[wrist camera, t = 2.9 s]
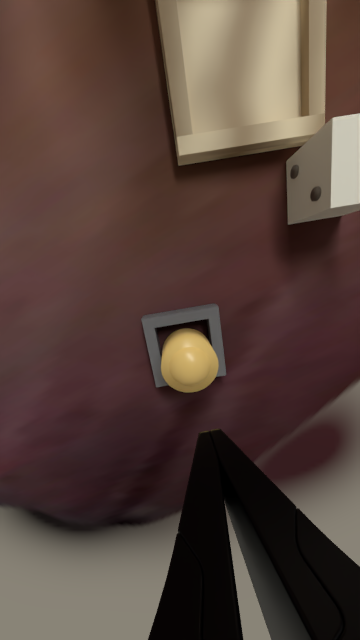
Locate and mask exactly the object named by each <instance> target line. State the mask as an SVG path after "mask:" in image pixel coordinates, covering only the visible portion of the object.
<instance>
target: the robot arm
mask: <svg viewBox="0 0 360 640" xmlns="http://www.w3.org/2000/svg"><path fill="white" fill-rule="evenodd" d="M224 501H225V504H226V507H227V510H228V513H229V516H230V519H231V522H232V525H233V528H234V531H235V534H236V537H237V540H238V543H239V546H240V548H241V552H242V554H243V557H244V560H245V563H246V566H247V569H248V572H249V575H250V578H251V581H252V584H253V587H254V589H255V593H256V596H257V598H258V601H259V604H260V607H261V610H262V613H263V616H264V619H265V622H266V625H267V628H268V631H269V634H270V637H271V640H360V567H359V566H358V565H357V564H356V563H355V562H354V561H353V560H352V559H350V558H349V557H348V556H347V555H346V554H345V553H344V552H343V551H341V550H340V549H339V548H338V547H337V546H336V545H335V544H334V543H333V542H332V541H331V540H330V539H329V538H327V537H326V535H324V534H323V533H322V532H321V531H320V530H319V529H318V528H317V527H316V526H315V525H314V524H313V523H312V522H311V521H310V520H309V519H308V518H307V517H306V516H305V515H304V514H303V513H302V512H301V511H300V509H296V506H295V505H294V504H293V503H292V502H291V501H290V500H289V498H287V496H286V495H285V494H284V493H283V492H281V490H280V489H279V488H278V487H277V486H276V485H275V484H274V483H273V482H272V481H271V480H270V479H269V478H268V477H267V476H266V475H265V474H264V473H263V472H262V471H261V470H260V469H259V468H258V467H257V466H256V465H255V464H254V463H253V462H252V461H251V460H250V459H249V458H248V457H247V456H246V455H245V454H244V453H243V452H242V451H241V449H240V448H239V447H238V446H237V445H236V444H235V443H234V442H233V441H232V440H231V439H230V438H229V437H228V436H227V435H226V434H225V433H224V432H223V431H222V430H221V429H214V430H211V431H210V432H209V431H204V432H200V433H199V435H198V440H197V444H196V449H195V454H194V458H193V463H192V467H191V472H190V477H189V481H188V486H187V490H186V495H185V500H184V504H183V509H182V514H181V518H180V523H179V527H178V534H177V536H176V540H175V545H174V550H173V554H172V558H171V562H170V566H169V570H168V575H167V578H166V582H165V586H164V589H163V592H162V596H161V599H160V603H159V606H158V609H157V613H156V616H155V619H154V622H153V626H152V629H151V632H150V635H149V638H148V640H243V634H242V627H241V620H240V613H239V605H238V598H237V591H236V584H235V576H234V569H233V561H232V554H231V547H230V540H229V533H228V525H227V518H226V510H225V504H224Z"/></svg>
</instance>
